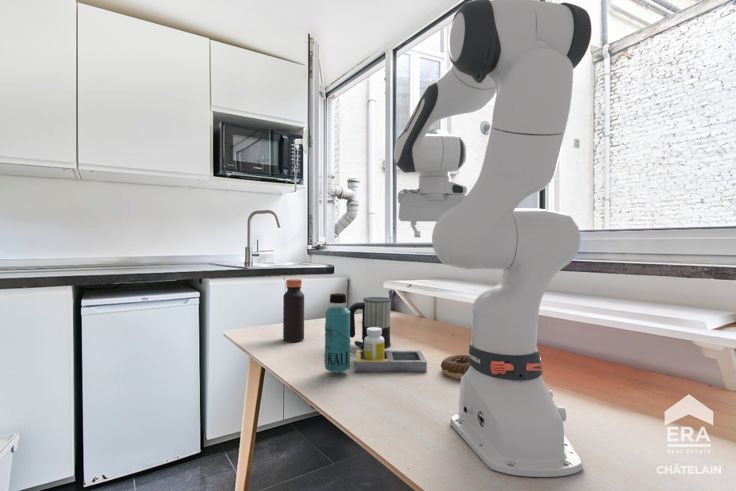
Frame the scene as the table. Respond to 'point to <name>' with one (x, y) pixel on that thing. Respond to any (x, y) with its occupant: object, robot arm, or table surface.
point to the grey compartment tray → (392, 362)
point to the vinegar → (293, 312)
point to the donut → (455, 366)
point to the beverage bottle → (337, 335)
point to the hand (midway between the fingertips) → (433, 237)
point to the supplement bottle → (374, 344)
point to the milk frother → (372, 318)
